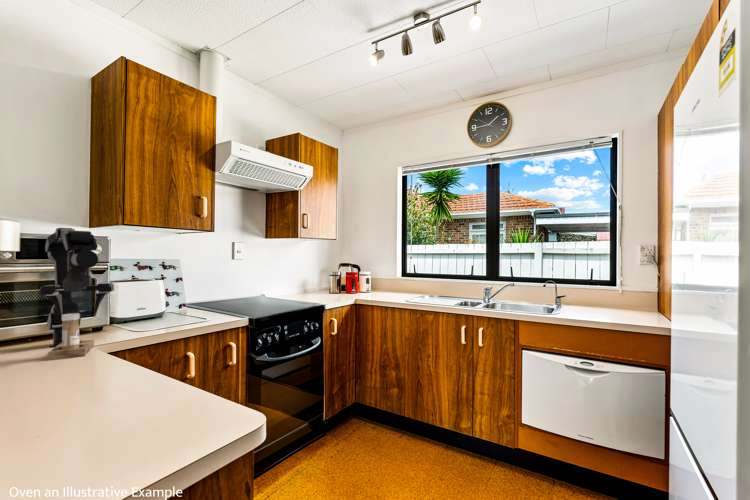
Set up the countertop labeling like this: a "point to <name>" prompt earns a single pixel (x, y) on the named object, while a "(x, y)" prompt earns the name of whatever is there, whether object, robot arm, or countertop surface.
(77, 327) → the sprinkles bottle
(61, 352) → the socket board
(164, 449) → the countertop surface
